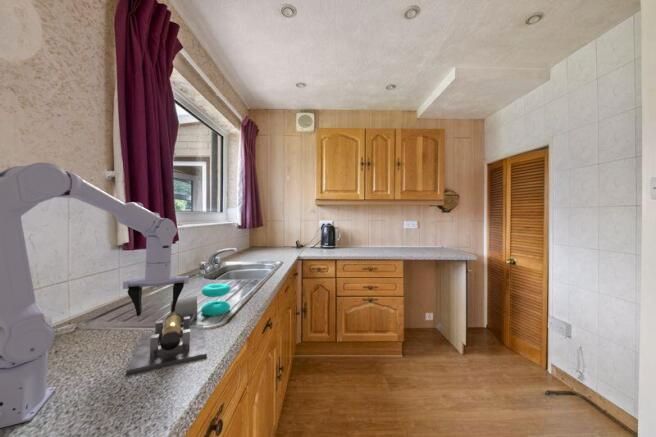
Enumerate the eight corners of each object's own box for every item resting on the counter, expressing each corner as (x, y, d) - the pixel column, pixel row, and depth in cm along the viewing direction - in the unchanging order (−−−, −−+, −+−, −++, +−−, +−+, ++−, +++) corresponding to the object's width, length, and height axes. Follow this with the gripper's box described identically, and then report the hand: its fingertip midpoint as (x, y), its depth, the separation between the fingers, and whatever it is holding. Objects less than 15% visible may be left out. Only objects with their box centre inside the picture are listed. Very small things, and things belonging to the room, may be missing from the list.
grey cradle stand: (206, 357, 63) (207, 335, 63) (125, 375, 55) (126, 349, 55) (202, 327, 81) (203, 310, 81) (141, 337, 74) (142, 318, 74)
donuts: (228, 288, 92) (198, 289, 90) (227, 316, 92) (197, 317, 90) (232, 282, 102) (205, 283, 100) (231, 307, 101) (205, 308, 99)
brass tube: (179, 348, 62) (180, 331, 63) (159, 352, 60) (160, 334, 61) (181, 326, 76) (182, 312, 76) (165, 328, 74) (165, 313, 74)
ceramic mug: (170, 317, 89) (171, 296, 89) (196, 313, 93) (197, 293, 93) (169, 329, 80) (170, 305, 80) (198, 324, 84) (199, 301, 84)
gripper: (189, 259, 75) (187, 304, 75) (128, 261, 68) (126, 312, 68) (188, 262, 69) (187, 312, 68) (121, 265, 62) (119, 320, 62)
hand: (156, 312), depth 68 cm, fingers open, 7 cm apart
